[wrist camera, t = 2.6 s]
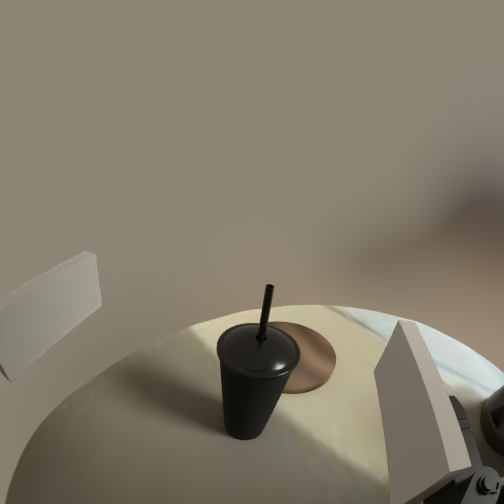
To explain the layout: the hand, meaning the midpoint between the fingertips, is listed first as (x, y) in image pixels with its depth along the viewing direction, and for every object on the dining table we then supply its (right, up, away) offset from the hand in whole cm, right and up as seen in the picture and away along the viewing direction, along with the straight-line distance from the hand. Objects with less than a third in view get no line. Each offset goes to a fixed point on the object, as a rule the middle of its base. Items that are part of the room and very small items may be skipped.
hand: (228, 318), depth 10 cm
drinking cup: (0, -19, +18) cm, 26 cm away
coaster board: (+6, -14, +31) cm, 35 cm away
